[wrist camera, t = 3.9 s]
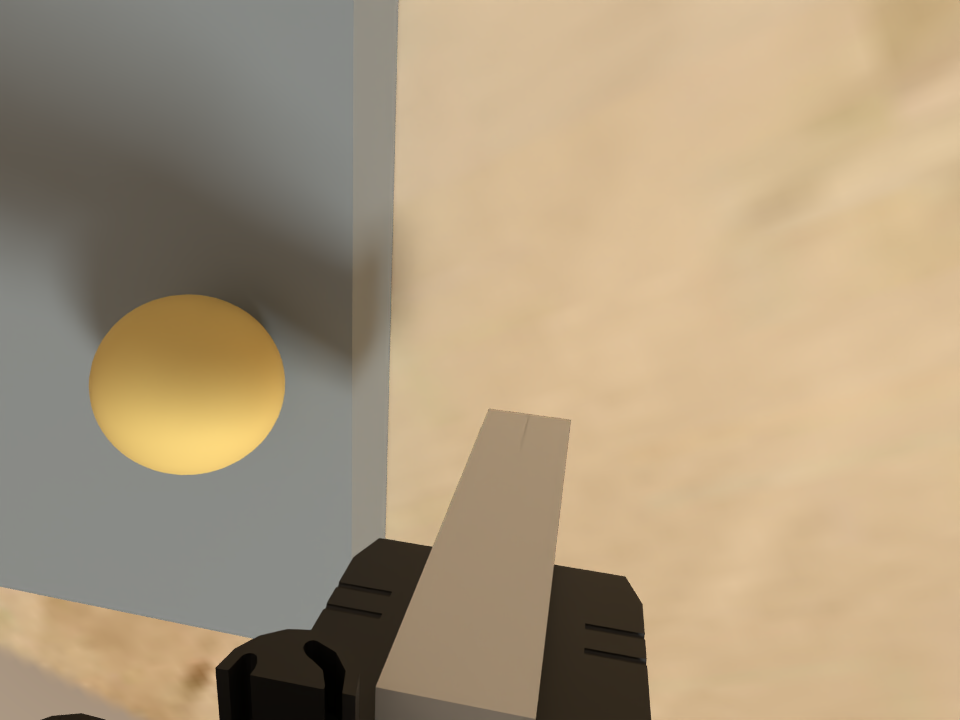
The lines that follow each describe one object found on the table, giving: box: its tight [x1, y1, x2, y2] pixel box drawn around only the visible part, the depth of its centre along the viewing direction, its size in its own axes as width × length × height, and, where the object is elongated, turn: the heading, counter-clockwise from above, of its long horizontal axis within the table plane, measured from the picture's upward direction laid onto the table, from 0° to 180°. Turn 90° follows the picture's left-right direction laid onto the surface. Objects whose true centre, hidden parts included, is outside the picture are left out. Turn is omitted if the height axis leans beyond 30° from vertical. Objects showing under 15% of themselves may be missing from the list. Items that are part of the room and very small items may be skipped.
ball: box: [89, 294, 285, 475], centre depth 15 cm, size 4×4×4 cm
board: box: [0, 0, 398, 639], centre depth 20 cm, size 18×22×3 cm
